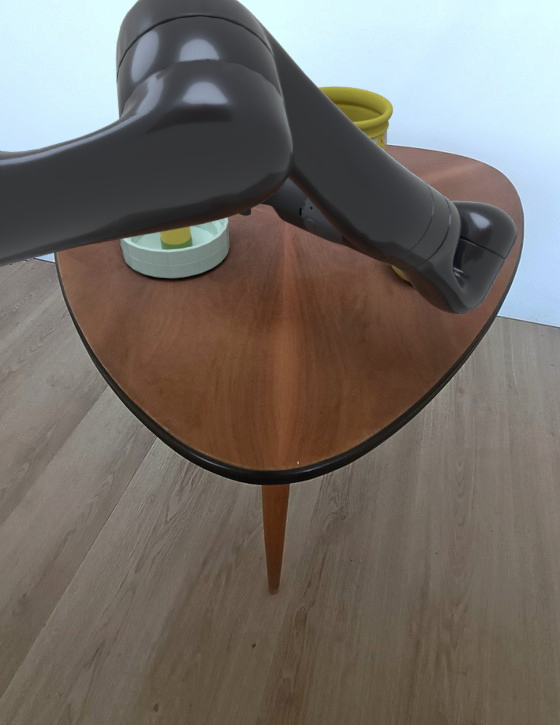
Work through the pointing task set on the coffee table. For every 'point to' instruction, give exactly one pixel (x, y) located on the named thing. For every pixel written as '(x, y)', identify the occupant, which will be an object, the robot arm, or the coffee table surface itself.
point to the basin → (178, 252)
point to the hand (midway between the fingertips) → (221, 158)
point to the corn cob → (176, 239)
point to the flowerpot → (363, 110)
